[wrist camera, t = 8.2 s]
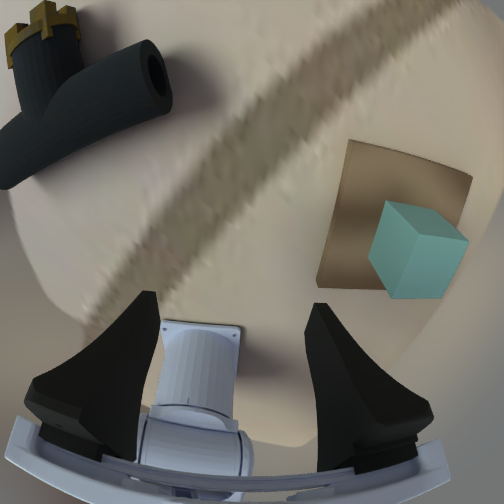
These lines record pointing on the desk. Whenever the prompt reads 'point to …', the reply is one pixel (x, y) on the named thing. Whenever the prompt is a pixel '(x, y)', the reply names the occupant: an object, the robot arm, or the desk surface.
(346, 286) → the base plate
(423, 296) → the teal cube
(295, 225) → the desk surface
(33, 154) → the pipe connector
